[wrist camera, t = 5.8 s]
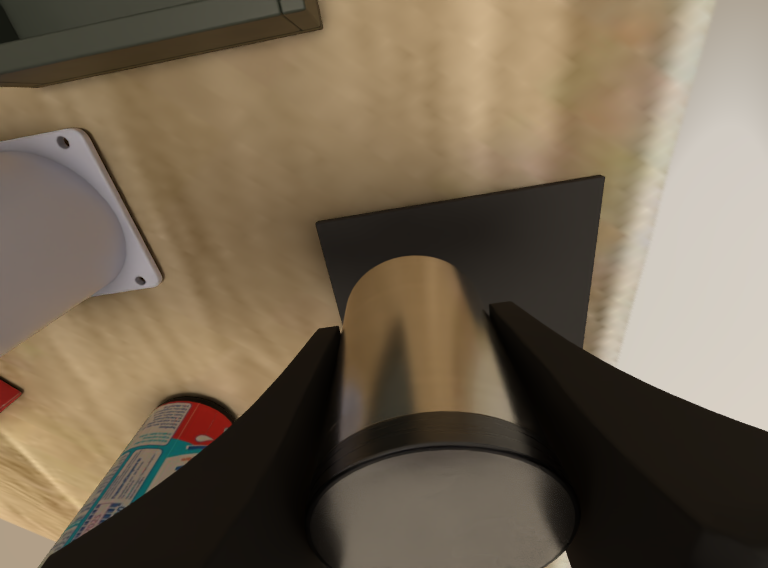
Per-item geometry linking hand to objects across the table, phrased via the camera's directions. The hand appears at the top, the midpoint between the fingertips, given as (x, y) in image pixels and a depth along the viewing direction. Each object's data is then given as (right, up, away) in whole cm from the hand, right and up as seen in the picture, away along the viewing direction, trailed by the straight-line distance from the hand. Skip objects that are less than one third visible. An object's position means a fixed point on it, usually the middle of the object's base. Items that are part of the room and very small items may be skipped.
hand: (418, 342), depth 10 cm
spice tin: (0, +1, +1) cm, 1 cm away
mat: (+4, 0, +10) cm, 11 cm away
